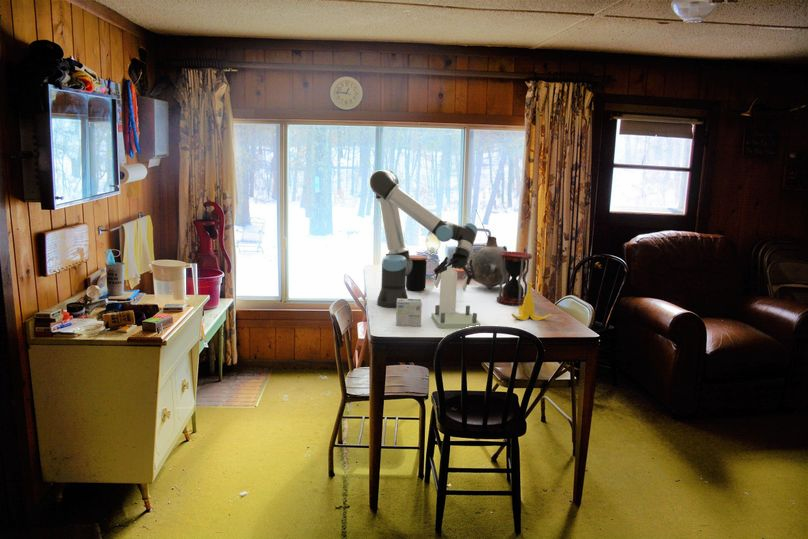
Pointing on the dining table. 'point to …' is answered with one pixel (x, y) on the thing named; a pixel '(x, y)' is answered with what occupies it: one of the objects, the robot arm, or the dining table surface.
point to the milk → (448, 291)
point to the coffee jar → (417, 274)
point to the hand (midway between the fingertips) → (449, 287)
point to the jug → (489, 264)
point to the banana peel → (528, 307)
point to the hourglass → (513, 278)
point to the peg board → (454, 319)
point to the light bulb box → (408, 312)
